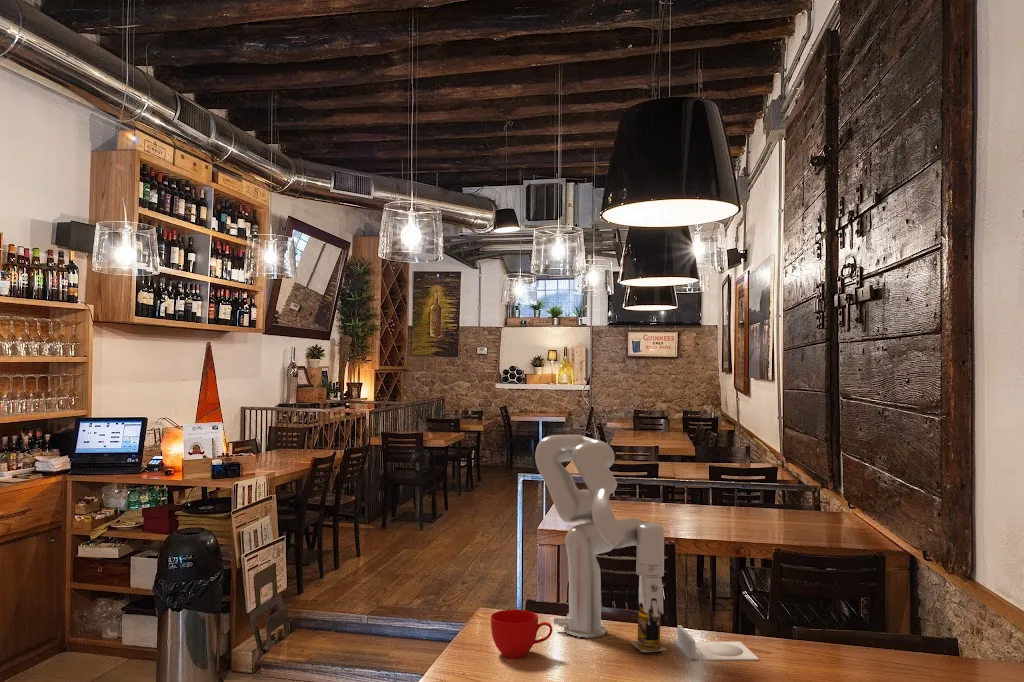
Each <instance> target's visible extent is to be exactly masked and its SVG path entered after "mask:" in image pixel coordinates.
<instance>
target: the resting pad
mask: <svg viewBox="0 0 1024 682" xmlns="http://www.w3.org/2000/svg"><path fill="white" fill-rule="evenodd" d="M695 650H697V651H698V652H699V654H700V655H701V656H702V657H703V658H704V660H705V661H706V662H707V661H709V662H710V661H759V660H760V659H759V658H758V656H757V655H755V653H753V652H752V651H751V650H750V649H749V648H748V647H746V645H745V644H743V643H742V641H695Z"/></svg>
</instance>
